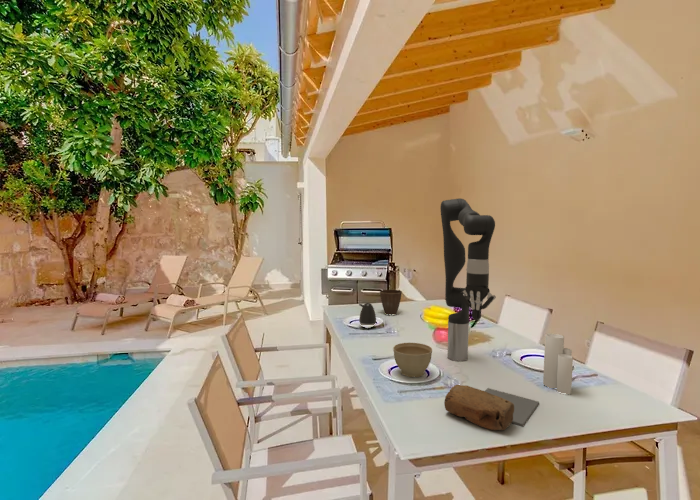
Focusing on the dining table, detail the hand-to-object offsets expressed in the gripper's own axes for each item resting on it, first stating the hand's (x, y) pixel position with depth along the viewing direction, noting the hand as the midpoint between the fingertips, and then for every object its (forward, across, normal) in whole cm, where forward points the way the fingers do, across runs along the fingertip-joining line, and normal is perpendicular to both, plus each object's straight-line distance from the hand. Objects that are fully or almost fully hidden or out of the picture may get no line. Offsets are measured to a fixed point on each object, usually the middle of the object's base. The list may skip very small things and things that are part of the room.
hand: (476, 319), depth 140 cm
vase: (+29, -22, -29) cm, 47 cm away
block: (+25, +3, +13) cm, 28 cm away
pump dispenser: (+29, +86, -52) cm, 104 cm away
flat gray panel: (+29, -10, 0) cm, 31 cm away
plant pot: (+29, +94, -89) cm, 133 cm away
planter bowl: (+29, +29, -6) cm, 42 cm away
